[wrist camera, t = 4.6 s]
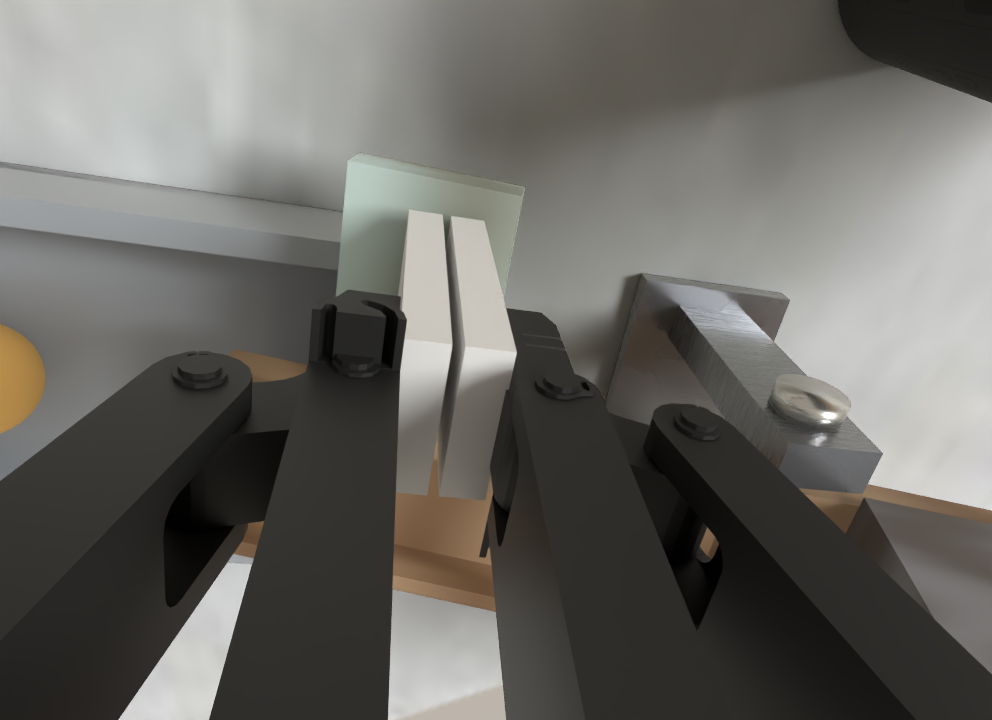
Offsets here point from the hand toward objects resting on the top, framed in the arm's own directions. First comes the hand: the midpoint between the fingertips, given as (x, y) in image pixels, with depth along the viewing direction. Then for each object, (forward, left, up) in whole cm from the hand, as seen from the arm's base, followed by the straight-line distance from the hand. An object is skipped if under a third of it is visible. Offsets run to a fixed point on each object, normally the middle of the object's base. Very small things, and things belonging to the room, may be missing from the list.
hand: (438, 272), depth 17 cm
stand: (+10, -7, -6) cm, 13 cm away
